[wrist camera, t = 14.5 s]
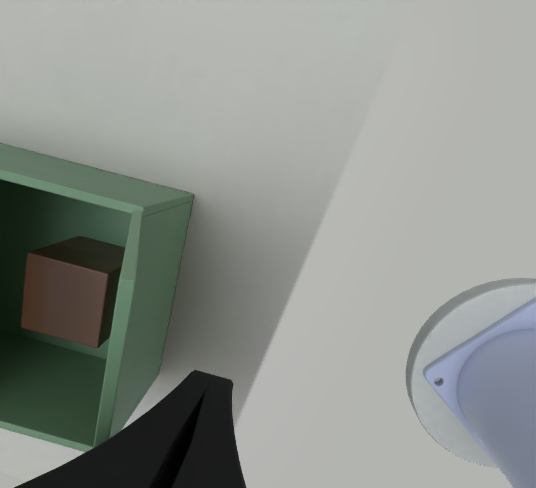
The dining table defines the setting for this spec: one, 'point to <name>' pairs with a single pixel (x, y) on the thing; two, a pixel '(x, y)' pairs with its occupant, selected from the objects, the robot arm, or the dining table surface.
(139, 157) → the dining table surface
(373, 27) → the dining table surface
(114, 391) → the flap
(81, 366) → the carton
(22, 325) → the block
